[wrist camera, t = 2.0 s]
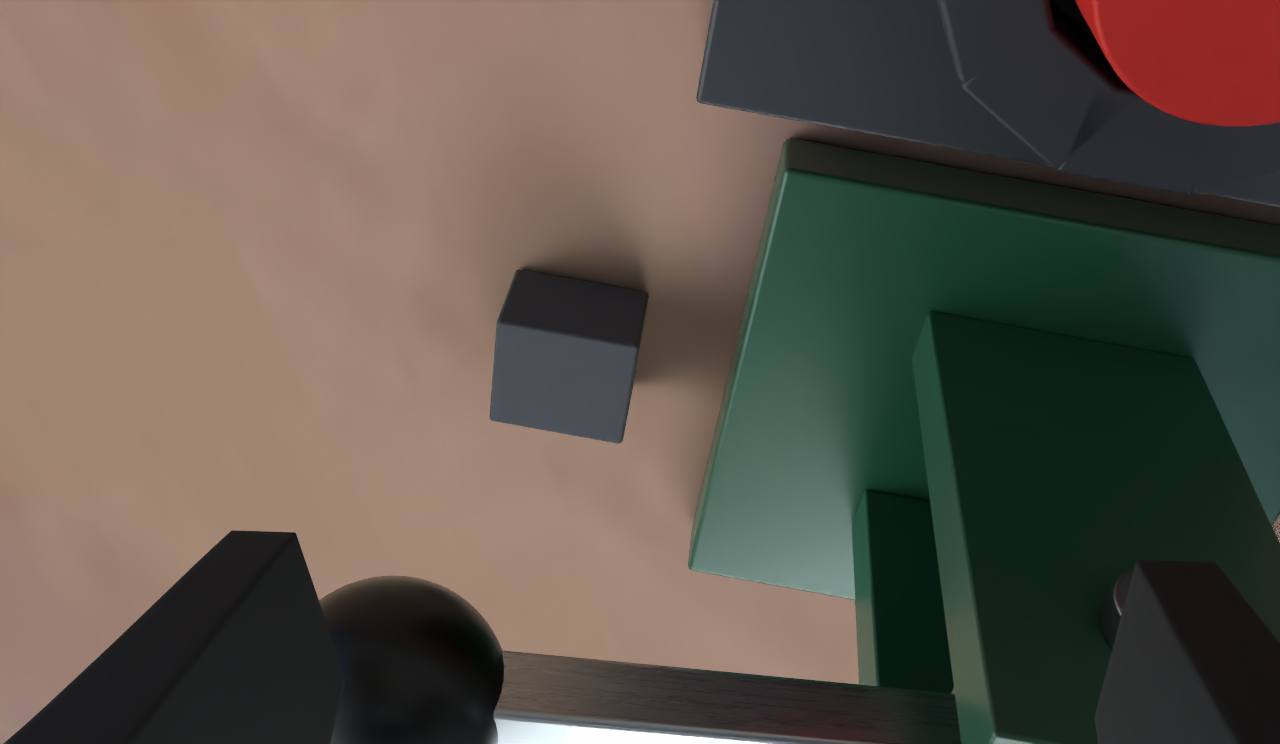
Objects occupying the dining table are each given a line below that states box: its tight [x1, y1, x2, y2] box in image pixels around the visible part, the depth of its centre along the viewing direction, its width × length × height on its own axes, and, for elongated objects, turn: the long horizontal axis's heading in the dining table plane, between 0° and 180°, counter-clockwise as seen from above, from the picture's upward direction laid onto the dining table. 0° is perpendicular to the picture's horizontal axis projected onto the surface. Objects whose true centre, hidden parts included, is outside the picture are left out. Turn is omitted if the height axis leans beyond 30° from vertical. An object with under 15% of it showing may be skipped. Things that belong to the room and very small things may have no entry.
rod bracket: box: [688, 138, 1280, 744], centre depth 17 cm, size 10×9×9 cm
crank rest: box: [490, 269, 649, 444], centre depth 20 cm, size 2×2×2 cm
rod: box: [319, 576, 961, 744], centre depth 15 cm, size 12×3×3 cm, turn 82°
